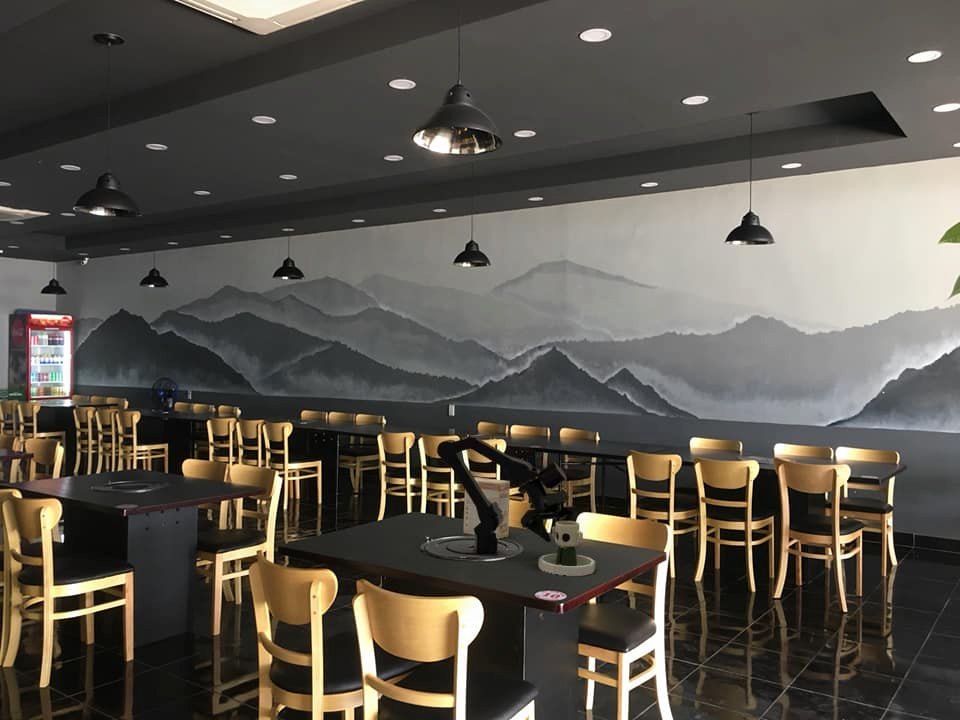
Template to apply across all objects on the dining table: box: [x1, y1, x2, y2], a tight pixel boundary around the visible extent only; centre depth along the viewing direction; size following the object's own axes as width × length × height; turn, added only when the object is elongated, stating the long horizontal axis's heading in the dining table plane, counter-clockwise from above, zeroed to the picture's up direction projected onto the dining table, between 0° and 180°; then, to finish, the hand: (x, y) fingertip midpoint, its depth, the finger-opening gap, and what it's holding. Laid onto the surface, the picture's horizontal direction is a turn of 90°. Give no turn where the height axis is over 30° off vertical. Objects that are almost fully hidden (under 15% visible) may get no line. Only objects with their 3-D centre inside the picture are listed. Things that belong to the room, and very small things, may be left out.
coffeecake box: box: [462, 476, 511, 540], centre depth 266 cm, size 15×7×20 cm, turn 54°
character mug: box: [551, 520, 584, 566], centre depth 223 cm, size 11×7×13 cm, turn 48°
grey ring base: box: [538, 553, 596, 577], centre depth 223 cm, size 16×16×2 cm
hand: (561, 540), depth 225 cm, fingers open, 9 cm apart
